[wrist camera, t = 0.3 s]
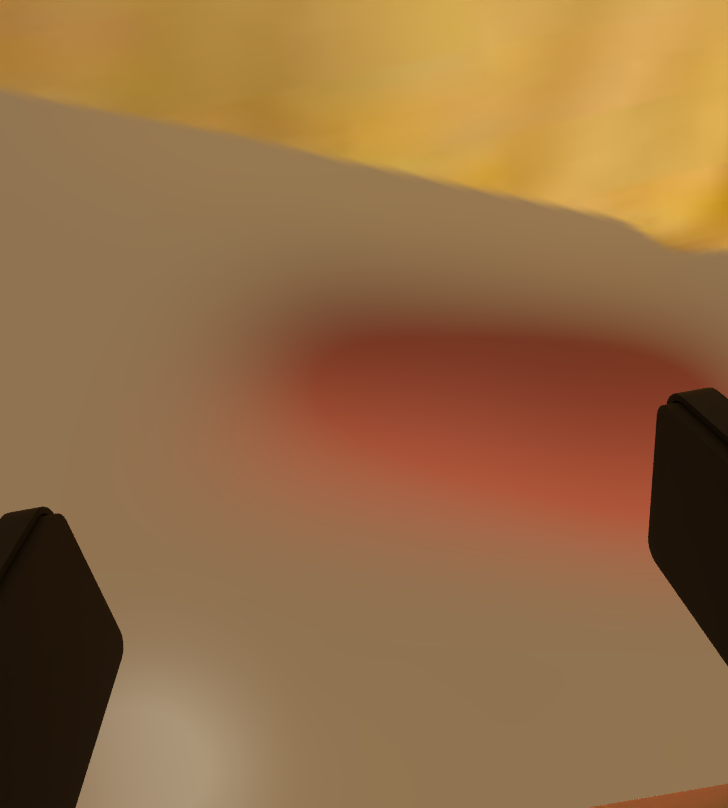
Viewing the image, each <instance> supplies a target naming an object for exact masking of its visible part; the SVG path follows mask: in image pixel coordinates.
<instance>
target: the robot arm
mask: <svg viewBox="0 0 728 808" xmlns="http://www.w3.org/2000/svg"><path fill="white" fill-rule="evenodd" d="M655 436H656V437H655V450H654V463H653V464H654V465H653V477H652V492H651V506H650V520H649V534H648V535H649V536H648V543H649V548H650V551H651V554H652V557H653V559H654V561H655V563H656V564H657V566H658V567H659V568H660V570H661V571H662V573H663V574H664V576H665V577H666V578H667V580H668V581H669V583H670V584H671V585H672V587H673V588H674V590H675V591H676V593H677V594H678V596H679V597H680V598H681V600H682V601H683V603H684V604H685V606H686V607H687V608H688V610H689V611H690V613H691V614H692V616H693V617H694V618H695V620H696V621H697V623H698V624H699V626H700V627H701V628H702V630H703V631H704V633H705V634H706V636H707V637H708V638H709V640H710V641H711V643H712V644H713V646H714V647H715V648H716V650H717V651H718V653H719V654H720V656H721V657H722V658H723V660H724V661H725V663H726V664H727V666H728V399H727V398H726V397H725V396H724V395H722V394H721V393H720V392H718V391H717V390H715V389H714V388H703V389H698V390H692V391H687V392H681V393H675V394H673V395H671V396H670V397H669V399H668V401H667V405H662V406H660V407H659V409H658V413H657V421H656V435H655ZM122 655H123V639H122V634H121V632H120V629H119V628H118V625H117V623H116V621H115V619H114V617H113V615H112V613H111V611H110V609H109V607H108V605H107V603H106V601H105V599H104V597H103V595H102V593H101V590H100V588H99V587H98V584H97V582H96V580H95V578H94V576H93V574H92V572H91V570H90V568H89V566H88V564H87V562H86V560H85V558H84V556H83V554H82V552H81V550H80V547H79V545H78V543H77V541H76V539H75V537H74V535H73V533H72V531H71V529H70V527H69V525H68V523H67V521H66V519H65V518H64V516H62V515H61V514H54V513H53V512H52V511H51V510H50V509H49V508H47V507H38V508H32V509H27V510H21V511H16V512H10V513H7V514H4V515H3V516H2V518H1V519H0V808H75V807H76V804H77V801H78V797H79V794H80V791H81V788H82V785H83V782H84V778H85V775H86V771H87V769H88V765H89V762H90V759H91V756H92V752H93V749H94V746H95V742H96V740H97V736H98V733H99V730H100V727H101V724H102V720H103V717H104V714H105V710H106V707H107V704H108V701H109V698H110V695H111V691H112V688H113V685H114V682H115V678H116V675H117V672H118V669H119V665H120V662H121V659H122ZM588 808H728V784H723V785H717V786H711V787H705V788H699V789H693V790H688V791H681V792H676V793H670V794H664V795H658V796H652V797H646V798H641V799H634V800H629V801H623V802H617V803H611V804H606V805H599V806H593V807H588Z"/></svg>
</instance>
